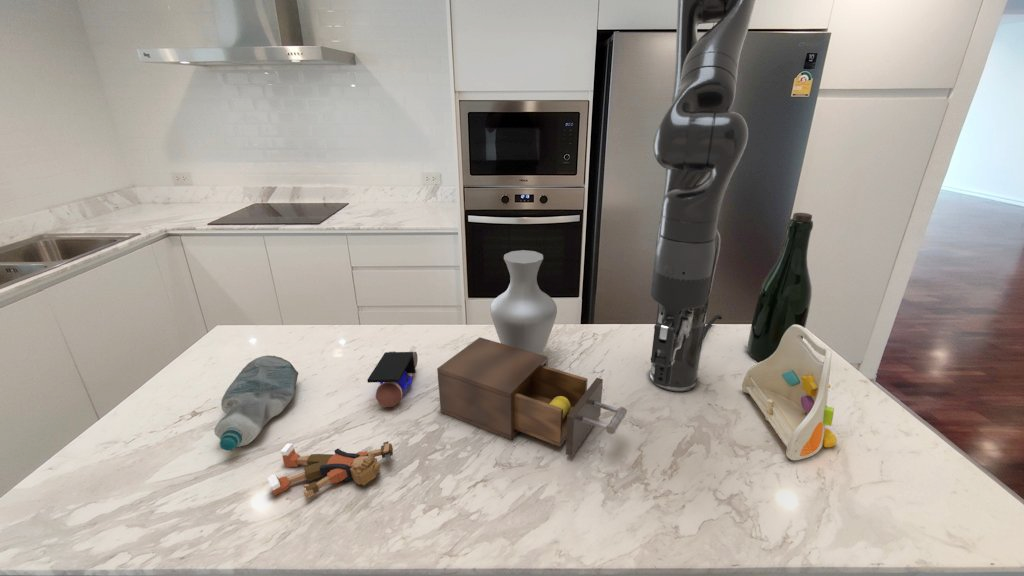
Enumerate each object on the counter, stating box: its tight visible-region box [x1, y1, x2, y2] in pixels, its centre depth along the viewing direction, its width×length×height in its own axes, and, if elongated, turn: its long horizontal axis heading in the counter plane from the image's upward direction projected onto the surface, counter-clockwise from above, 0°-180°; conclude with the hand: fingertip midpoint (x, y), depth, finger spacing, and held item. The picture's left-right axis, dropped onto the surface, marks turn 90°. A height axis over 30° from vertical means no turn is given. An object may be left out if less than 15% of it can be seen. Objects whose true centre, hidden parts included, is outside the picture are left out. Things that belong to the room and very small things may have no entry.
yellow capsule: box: [549, 396, 571, 419], centre depth 86 cm, size 7×4×4 cm, turn 149°
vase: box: [489, 249, 558, 355], centre depth 104 cm, size 14×14×25 cm
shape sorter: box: [741, 325, 837, 461], centre depth 84 cm, size 20×10×18 cm, turn 177°
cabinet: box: [436, 336, 549, 441], centre depth 92 cm, size 16×14×10 cm
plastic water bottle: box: [213, 355, 299, 451], centre depth 90 cm, size 13×7×25 cm
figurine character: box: [366, 351, 419, 408], centre depth 98 cm, size 7×8×15 cm
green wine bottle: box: [746, 212, 814, 362], centre depth 103 cm, size 10×10×33 cm
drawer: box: [513, 365, 628, 458], centre depth 84 cm, size 20×13×8 cm, turn 59°
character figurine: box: [267, 441, 394, 499], centre depth 76 cm, size 12×5×18 cm
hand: (668, 370), depth 71 cm, fingers open, 7 cm apart
